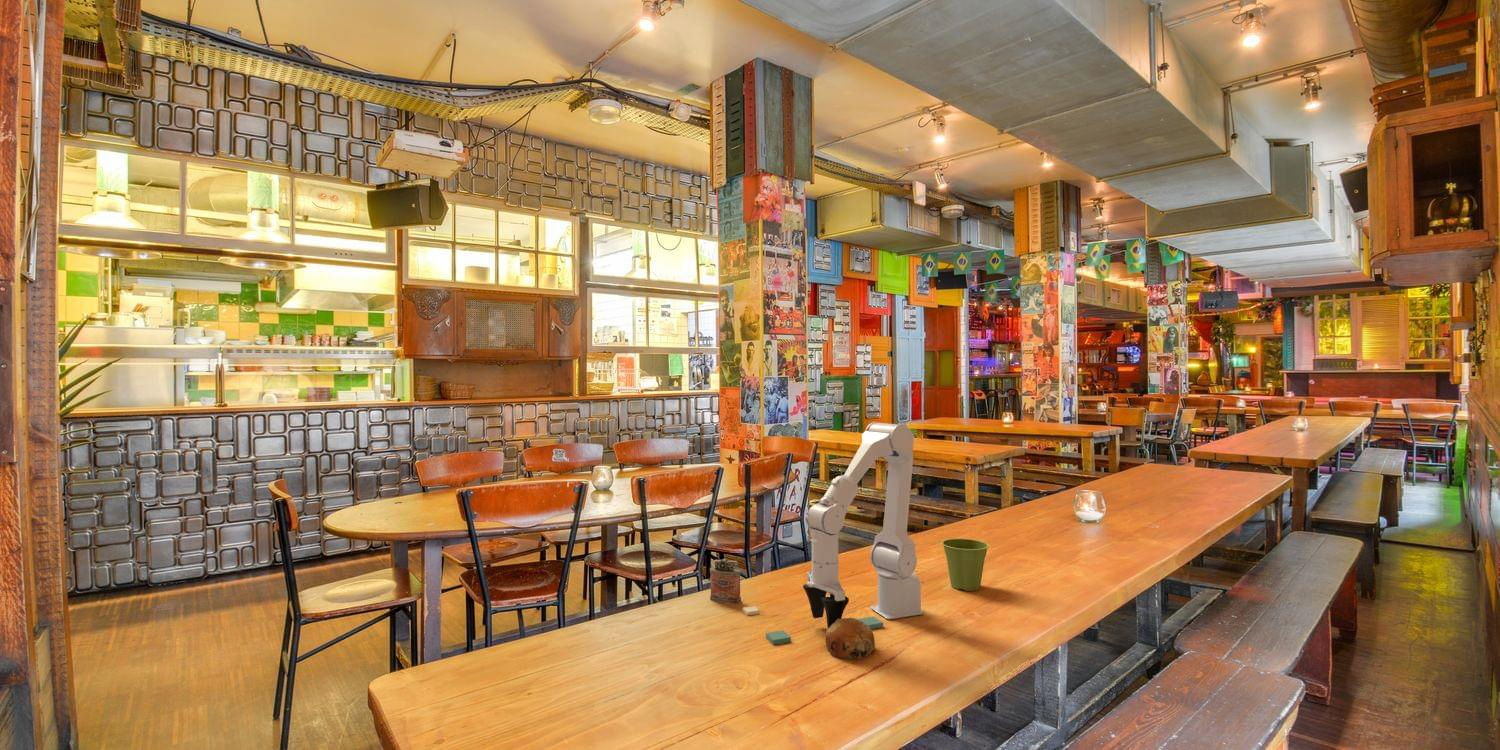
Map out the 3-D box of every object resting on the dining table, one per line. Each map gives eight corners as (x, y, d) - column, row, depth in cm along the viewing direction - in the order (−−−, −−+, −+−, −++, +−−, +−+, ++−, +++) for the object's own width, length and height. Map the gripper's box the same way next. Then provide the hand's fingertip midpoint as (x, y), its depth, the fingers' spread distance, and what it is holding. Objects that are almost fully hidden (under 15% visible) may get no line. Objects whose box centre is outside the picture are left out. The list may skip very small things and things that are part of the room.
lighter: (707, 600, 165) (707, 560, 165) (713, 596, 168) (713, 556, 168) (737, 604, 162) (737, 563, 162) (743, 600, 165) (742, 559, 165)
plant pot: (999, 588, 172) (999, 544, 172) (969, 597, 165) (969, 552, 165) (961, 576, 182) (961, 535, 182) (931, 585, 175) (931, 542, 175)
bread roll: (874, 662, 138) (874, 621, 141) (874, 660, 129) (874, 616, 132) (826, 659, 140) (827, 618, 143) (823, 657, 131) (824, 613, 134)
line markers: (839, 597, 166) (839, 593, 166) (883, 627, 147) (883, 622, 147) (740, 611, 158) (740, 607, 158) (773, 644, 138) (773, 640, 138)
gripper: (794, 553, 150) (794, 614, 150) (823, 572, 136) (823, 638, 136) (822, 550, 152) (823, 610, 152) (853, 568, 139) (854, 633, 139)
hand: (825, 623), depth 145 cm, fingers open, 7 cm apart
